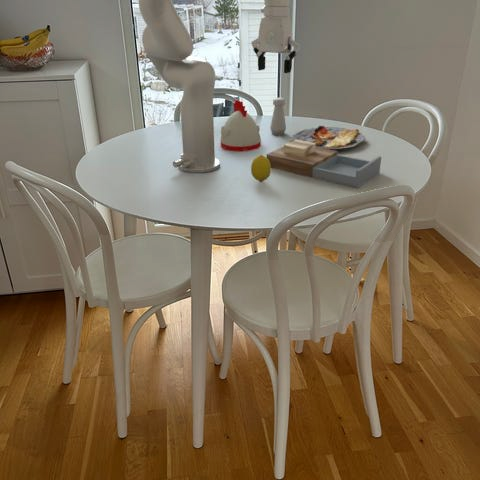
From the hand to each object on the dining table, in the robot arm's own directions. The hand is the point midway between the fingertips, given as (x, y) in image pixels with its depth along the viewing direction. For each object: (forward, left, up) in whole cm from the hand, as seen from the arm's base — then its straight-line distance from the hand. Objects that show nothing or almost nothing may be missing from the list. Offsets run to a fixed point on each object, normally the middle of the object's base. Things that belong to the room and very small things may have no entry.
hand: (274, 71), depth 159 cm
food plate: (+15, -14, -25) cm, 32 cm away
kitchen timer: (-6, +9, -25) cm, 27 cm away
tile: (-12, -17, -21) cm, 29 cm away
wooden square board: (-12, -18, -25) cm, 33 cm away
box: (-12, -33, -25) cm, 43 cm away
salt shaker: (+13, +7, -25) cm, 29 cm away
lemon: (-31, -16, -25) cm, 43 cm away
